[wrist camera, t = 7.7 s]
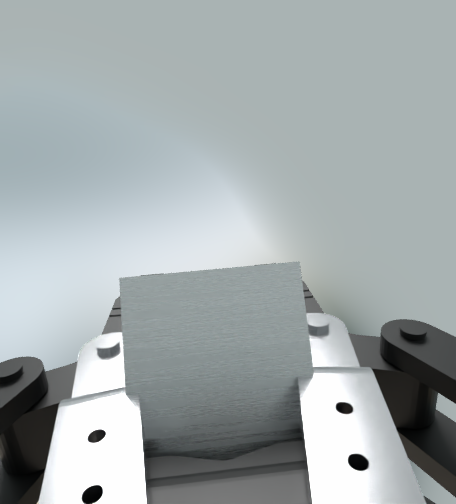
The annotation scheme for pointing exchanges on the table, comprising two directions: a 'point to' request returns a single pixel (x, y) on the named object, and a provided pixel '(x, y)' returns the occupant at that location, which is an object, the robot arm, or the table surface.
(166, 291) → the aluminium bar
